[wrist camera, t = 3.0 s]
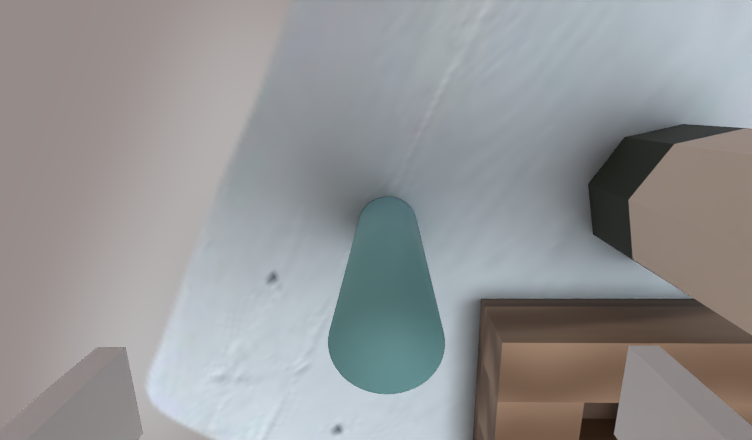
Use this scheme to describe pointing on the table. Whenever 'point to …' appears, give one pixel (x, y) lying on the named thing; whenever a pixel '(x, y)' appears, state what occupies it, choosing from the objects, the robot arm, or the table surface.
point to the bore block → (593, 362)
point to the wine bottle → (684, 211)
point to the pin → (386, 305)
